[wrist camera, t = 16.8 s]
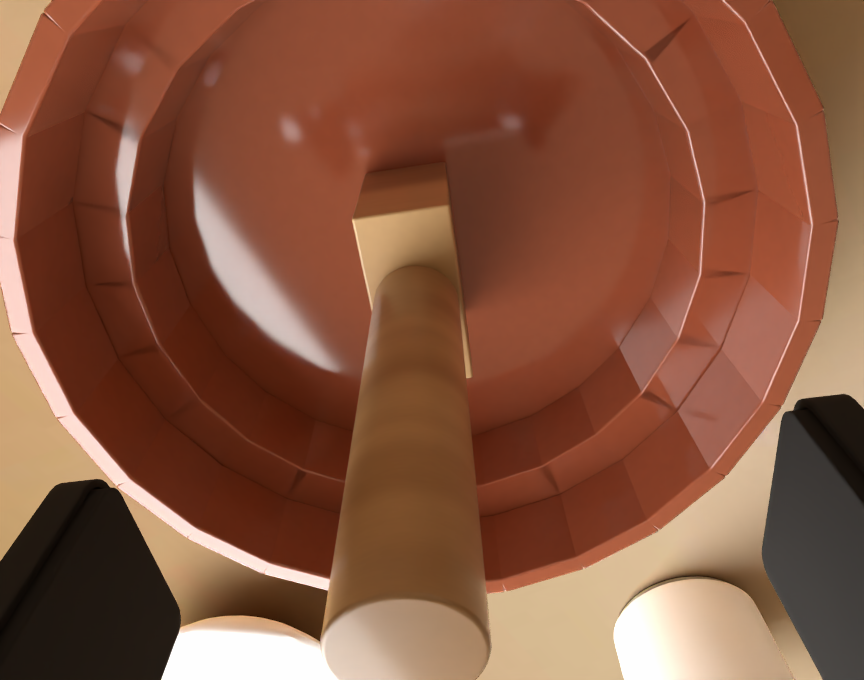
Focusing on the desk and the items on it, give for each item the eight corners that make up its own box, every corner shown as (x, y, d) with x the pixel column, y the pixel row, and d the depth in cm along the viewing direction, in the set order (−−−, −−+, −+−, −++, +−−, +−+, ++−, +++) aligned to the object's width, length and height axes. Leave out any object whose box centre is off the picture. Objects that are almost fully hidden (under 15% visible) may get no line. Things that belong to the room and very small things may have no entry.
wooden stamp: (364, 172, 19) (261, 523, 7) (445, 160, 19) (477, 498, 7) (393, 321, 22) (353, 768, 10) (466, 311, 22) (515, 754, 10)
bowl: (-12, -63, 17) (-207, -75, 12) (757, -201, 16) (922, -283, 10) (217, 496, 26) (165, 628, 21) (709, 438, 25) (783, 563, 20)
